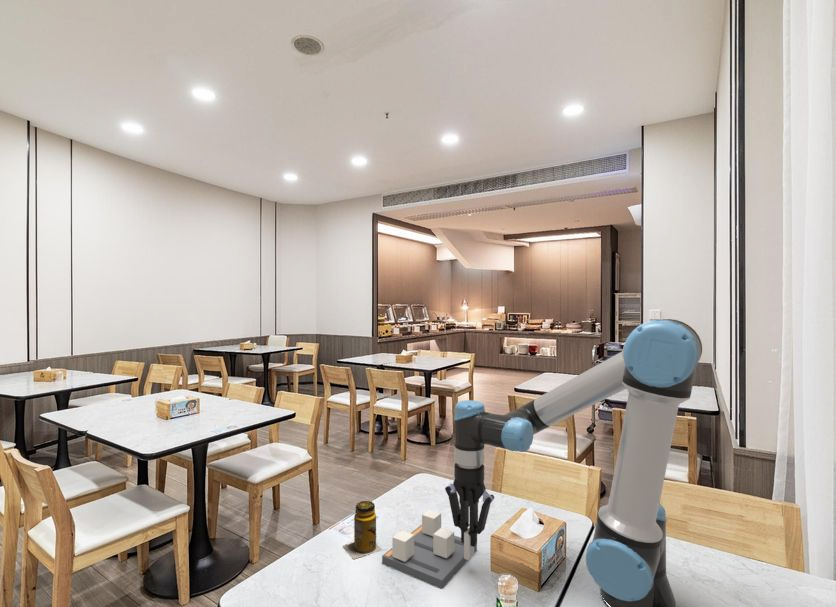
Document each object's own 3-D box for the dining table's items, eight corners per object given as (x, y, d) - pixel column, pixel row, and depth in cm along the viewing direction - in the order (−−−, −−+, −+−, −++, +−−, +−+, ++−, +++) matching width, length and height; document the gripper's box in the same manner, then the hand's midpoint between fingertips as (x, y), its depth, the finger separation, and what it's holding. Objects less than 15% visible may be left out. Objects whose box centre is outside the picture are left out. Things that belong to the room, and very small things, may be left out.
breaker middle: (454, 550, 112) (454, 531, 112) (446, 558, 108) (446, 538, 108) (441, 546, 114) (441, 527, 114) (433, 553, 110) (433, 534, 111)
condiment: (381, 549, 117) (381, 506, 117) (353, 560, 112) (353, 514, 112) (369, 537, 123) (369, 496, 123) (342, 547, 118) (342, 503, 118)
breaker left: (414, 554, 110) (414, 534, 110) (405, 561, 107) (405, 541, 107) (401, 549, 112) (401, 530, 112) (392, 556, 109) (392, 537, 109)
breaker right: (441, 530, 122) (441, 512, 122) (434, 536, 119) (434, 518, 119) (429, 526, 124) (429, 509, 124) (422, 532, 121) (422, 514, 121)
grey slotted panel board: (476, 550, 116) (476, 542, 116) (441, 588, 100) (441, 580, 100) (421, 531, 126) (421, 524, 126) (382, 563, 110) (382, 555, 110)
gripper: (499, 464, 107) (499, 558, 107) (453, 453, 114) (453, 541, 114) (486, 473, 100) (486, 573, 100) (439, 462, 108) (439, 555, 107)
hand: (469, 556), depth 107 cm, fingers closed
